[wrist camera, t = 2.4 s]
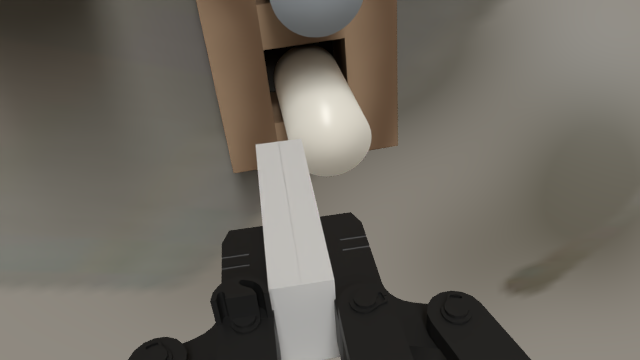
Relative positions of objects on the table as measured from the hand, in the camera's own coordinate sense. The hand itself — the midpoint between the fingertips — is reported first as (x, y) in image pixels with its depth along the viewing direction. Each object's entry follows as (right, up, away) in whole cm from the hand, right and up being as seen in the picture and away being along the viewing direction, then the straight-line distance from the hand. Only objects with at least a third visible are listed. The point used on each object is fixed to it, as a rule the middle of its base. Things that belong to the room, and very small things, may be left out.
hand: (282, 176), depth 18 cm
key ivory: (0, +7, +18) cm, 19 cm away
